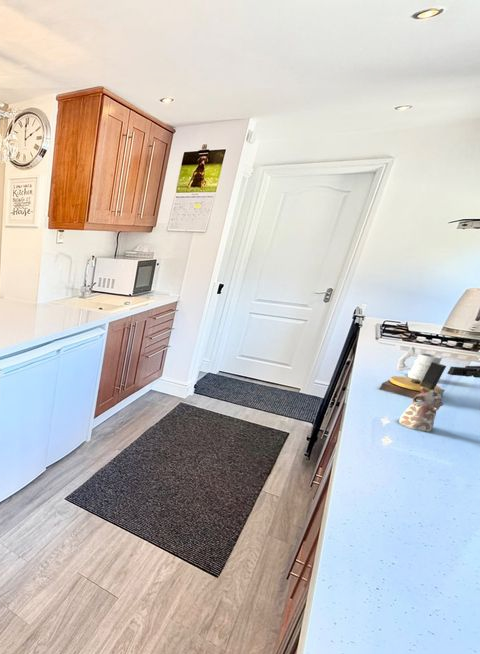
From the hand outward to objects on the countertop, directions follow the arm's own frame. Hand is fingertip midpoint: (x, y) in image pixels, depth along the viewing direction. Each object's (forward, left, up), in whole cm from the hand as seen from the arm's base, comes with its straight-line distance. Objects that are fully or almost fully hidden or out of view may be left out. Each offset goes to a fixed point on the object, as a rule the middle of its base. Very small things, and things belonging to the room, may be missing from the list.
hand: (451, 370), depth 142 cm
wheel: (+6, +3, -8) cm, 10 cm away
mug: (+11, -24, -11) cm, 29 cm away
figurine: (-3, +42, -11) cm, 43 cm away
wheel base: (+6, +3, -11) cm, 13 cm away
